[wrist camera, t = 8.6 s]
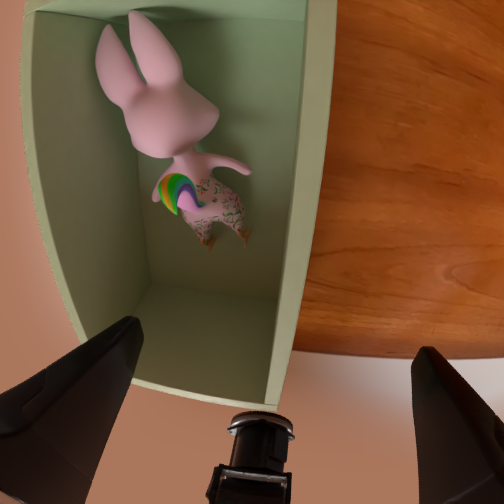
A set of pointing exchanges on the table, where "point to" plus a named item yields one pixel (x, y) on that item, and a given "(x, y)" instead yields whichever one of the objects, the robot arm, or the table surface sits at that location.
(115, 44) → the rabbit figure
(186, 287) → the bin
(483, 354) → the table surface
